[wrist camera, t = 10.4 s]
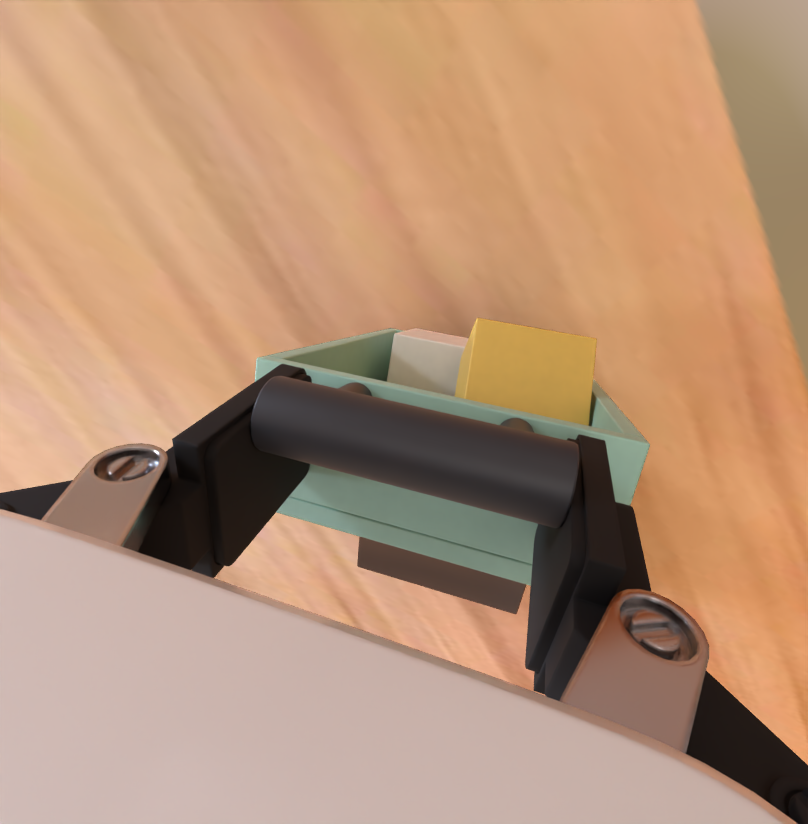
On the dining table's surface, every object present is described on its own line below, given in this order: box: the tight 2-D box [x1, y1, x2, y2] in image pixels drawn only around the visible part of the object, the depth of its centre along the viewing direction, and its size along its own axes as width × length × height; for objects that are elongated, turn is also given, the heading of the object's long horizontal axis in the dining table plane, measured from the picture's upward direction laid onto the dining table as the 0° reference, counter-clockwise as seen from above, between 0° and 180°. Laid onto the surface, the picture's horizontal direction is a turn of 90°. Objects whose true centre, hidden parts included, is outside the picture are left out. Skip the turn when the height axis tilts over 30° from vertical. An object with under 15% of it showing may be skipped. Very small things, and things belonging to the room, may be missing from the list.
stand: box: [357, 536, 526, 614], centre depth 30 cm, size 13×11×5 cm
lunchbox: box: [251, 328, 650, 586], centre depth 16 cm, size 16×10×5 cm
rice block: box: [387, 328, 469, 397], centre depth 22 cm, size 4×4×4 cm
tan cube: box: [455, 318, 597, 426], centre depth 17 cm, size 4×4×4 cm
